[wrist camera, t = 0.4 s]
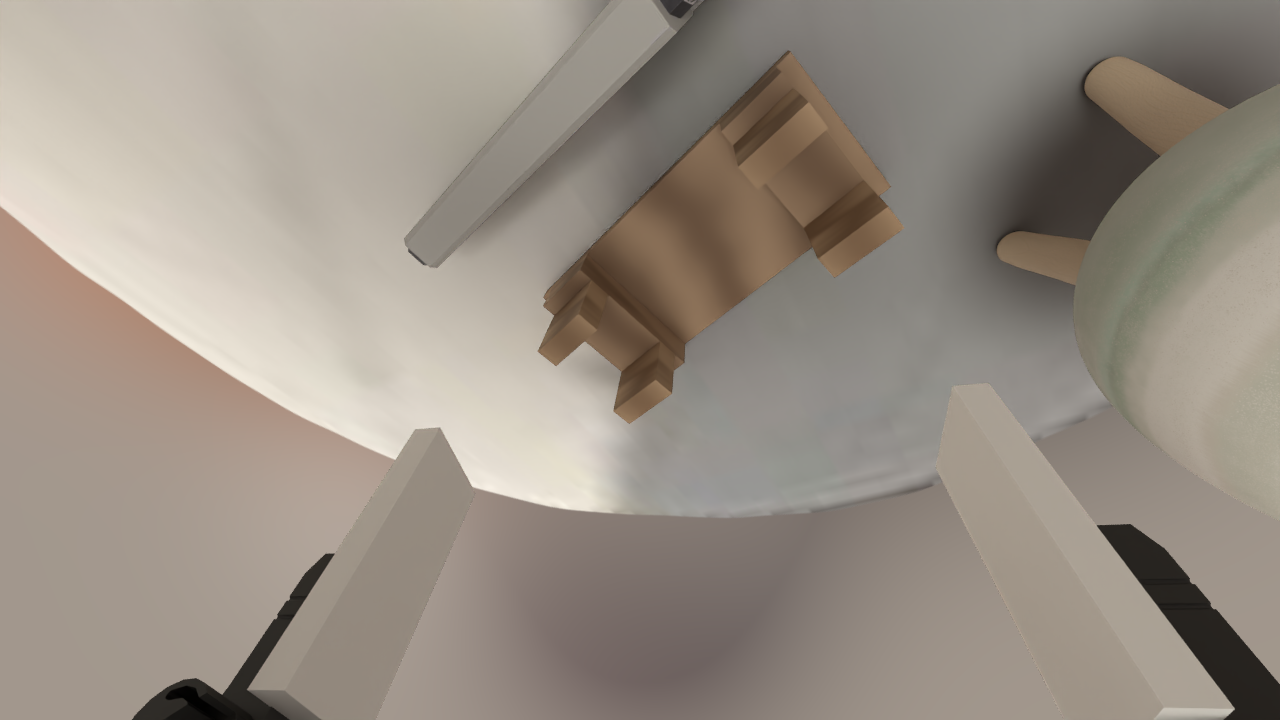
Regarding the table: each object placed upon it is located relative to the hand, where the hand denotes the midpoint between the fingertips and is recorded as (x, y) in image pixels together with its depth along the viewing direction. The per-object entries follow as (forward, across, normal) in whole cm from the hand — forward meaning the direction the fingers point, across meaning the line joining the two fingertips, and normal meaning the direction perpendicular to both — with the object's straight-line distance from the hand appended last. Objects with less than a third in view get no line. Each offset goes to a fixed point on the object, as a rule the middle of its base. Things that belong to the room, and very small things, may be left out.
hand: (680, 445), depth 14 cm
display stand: (+24, 0, -4) cm, 24 cm away
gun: (+24, -7, +6) cm, 26 cm away
